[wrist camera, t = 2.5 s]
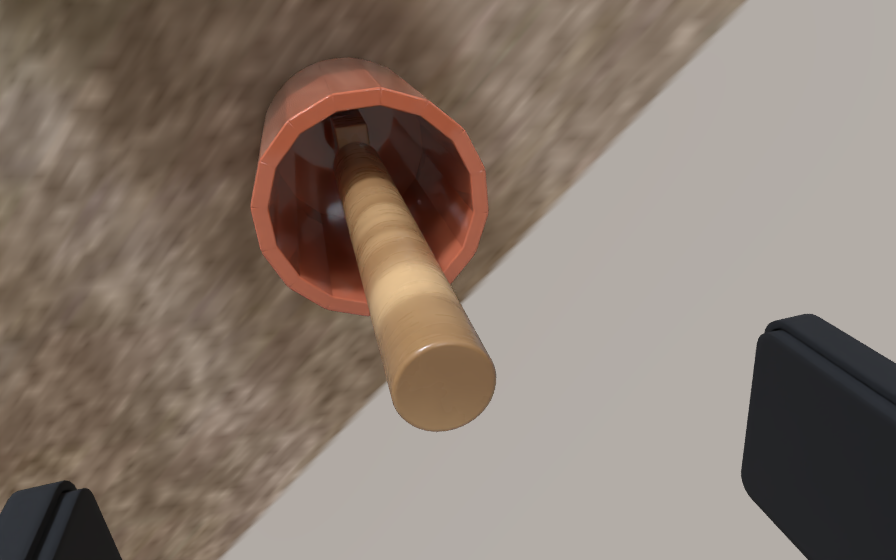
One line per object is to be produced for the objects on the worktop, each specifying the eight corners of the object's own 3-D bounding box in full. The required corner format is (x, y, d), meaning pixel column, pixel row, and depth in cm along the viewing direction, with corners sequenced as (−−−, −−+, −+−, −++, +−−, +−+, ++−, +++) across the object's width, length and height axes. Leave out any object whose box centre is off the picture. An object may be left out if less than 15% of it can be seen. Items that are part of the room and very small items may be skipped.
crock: (420, 46, 26) (479, 73, 18) (438, 209, 29) (495, 292, 21) (244, 69, 25) (225, 108, 17) (282, 235, 28) (280, 334, 20)
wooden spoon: (321, 114, 26) (379, 320, 10) (366, 108, 26) (491, 299, 10) (334, 186, 27) (404, 470, 11) (376, 179, 27) (503, 447, 12)
